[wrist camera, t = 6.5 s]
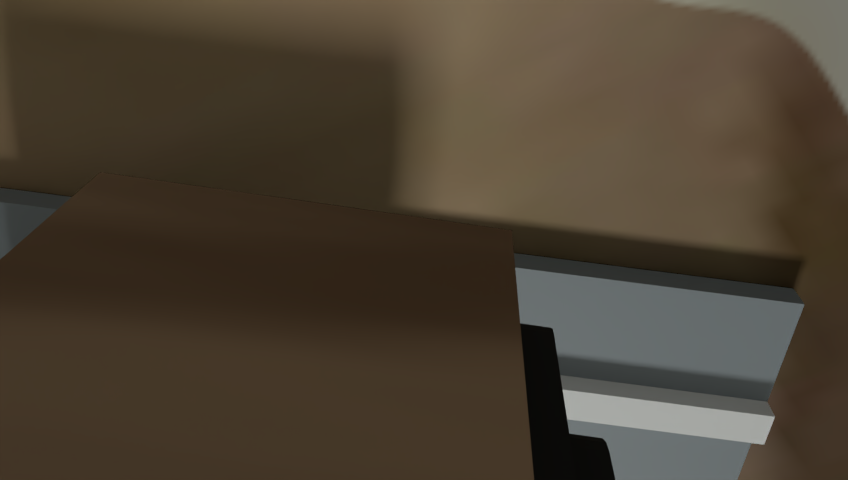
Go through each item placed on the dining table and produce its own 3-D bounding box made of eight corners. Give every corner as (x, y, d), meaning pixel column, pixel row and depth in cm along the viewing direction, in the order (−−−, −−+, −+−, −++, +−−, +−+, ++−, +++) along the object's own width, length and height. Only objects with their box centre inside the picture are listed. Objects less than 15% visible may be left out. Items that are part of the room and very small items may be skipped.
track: (-16, 185, 26) (-48, 207, 25) (793, 288, 26) (813, 317, 25) (45, 581, 35) (24, 616, 33) (654, 660, 35) (663, 700, 33)
